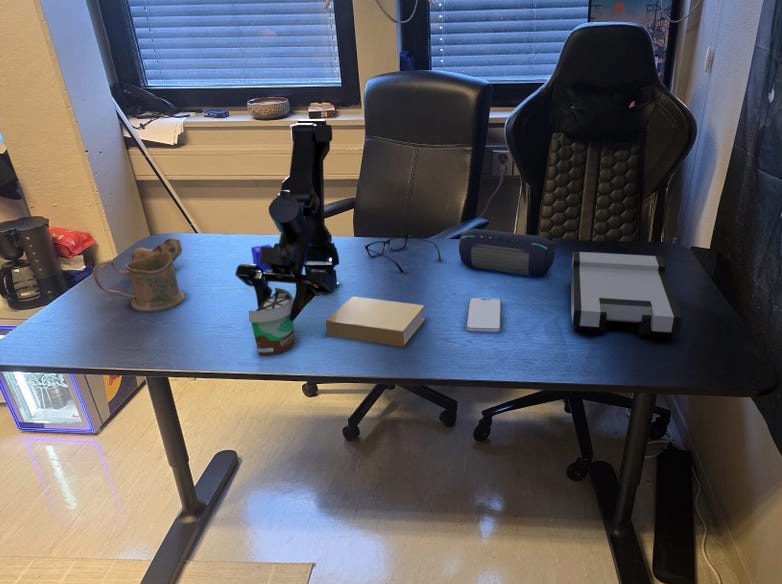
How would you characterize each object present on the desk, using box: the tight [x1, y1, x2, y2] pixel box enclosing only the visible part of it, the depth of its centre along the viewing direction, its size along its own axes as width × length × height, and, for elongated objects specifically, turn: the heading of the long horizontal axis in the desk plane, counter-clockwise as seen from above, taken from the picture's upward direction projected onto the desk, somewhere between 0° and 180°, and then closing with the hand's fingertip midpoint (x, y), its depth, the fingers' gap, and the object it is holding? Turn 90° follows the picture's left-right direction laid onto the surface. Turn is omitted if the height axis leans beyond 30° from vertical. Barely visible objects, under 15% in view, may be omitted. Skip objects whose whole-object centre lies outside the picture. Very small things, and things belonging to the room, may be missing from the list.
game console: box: [570, 251, 683, 339], centre depth 139 cm, size 21×32×8 cm, turn 171°
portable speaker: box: [458, 228, 556, 277], centre depth 161 cm, size 25×10×10 cm, turn 68°
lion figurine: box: [130, 236, 183, 263], centre depth 160 cm, size 15×5×9 cm, turn 103°
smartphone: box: [465, 297, 502, 333], centre depth 139 cm, size 7×1×15 cm
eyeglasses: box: [364, 234, 442, 274], centre depth 170 cm, size 16×16×4 cm
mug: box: [92, 251, 186, 312], centre depth 141 cm, size 12×18×12 cm, turn 137°
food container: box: [248, 287, 295, 357], centre depth 124 cm, size 12×6×10 cm, turn 168°
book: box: [325, 295, 426, 348], centre depth 133 cm, size 17×13×4 cm
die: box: [250, 244, 273, 271], centre depth 165 cm, size 5×5×5 cm
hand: (276, 319), depth 122 cm, fingers closed on food container, 6 cm apart
